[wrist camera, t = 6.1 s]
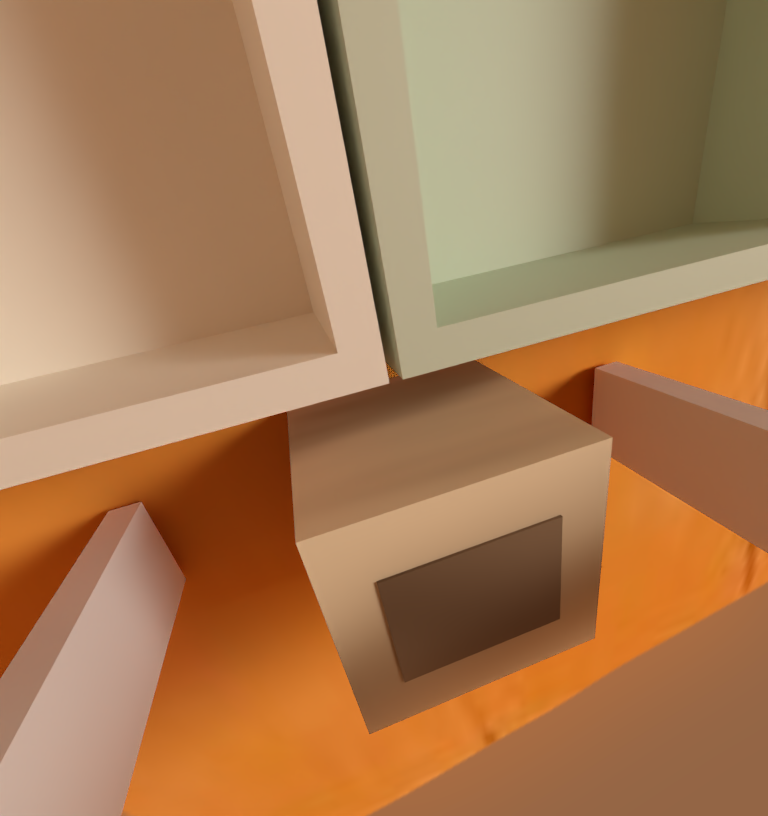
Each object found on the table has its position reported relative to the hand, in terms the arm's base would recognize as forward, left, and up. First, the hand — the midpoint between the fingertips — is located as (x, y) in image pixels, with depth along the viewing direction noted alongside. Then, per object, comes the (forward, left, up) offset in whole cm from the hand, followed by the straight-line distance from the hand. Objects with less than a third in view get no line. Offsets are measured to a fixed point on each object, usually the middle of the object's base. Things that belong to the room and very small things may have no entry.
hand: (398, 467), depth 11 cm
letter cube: (0, 0, 0) cm, 0 cm away
